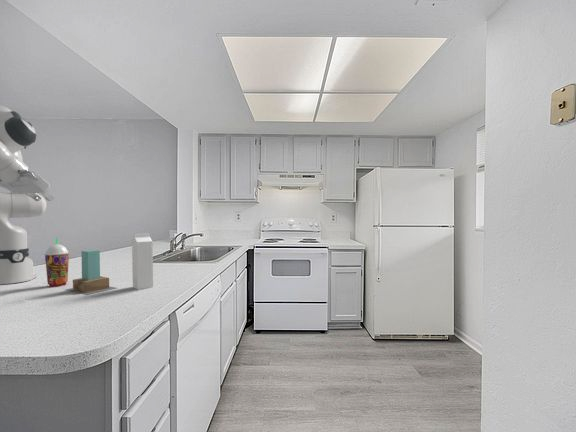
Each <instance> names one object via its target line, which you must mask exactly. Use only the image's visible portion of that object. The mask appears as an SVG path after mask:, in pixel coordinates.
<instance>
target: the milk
mask: <svg viewBox="0 0 576 432" xmlns="http://www.w3.org/2000/svg"><path fill="white" fill-rule="evenodd" d="M133 235H134V237H133V239H132V240H131V252H132V253H131V260H132V263H131V265H132V267H131V268H132V288H134V289H136V290H143V289H150V288H154V266H153V265H154V264H153V263H154V260H153V259H154V257H153V255H154V254H153V250H154V249H153V244H154V243H153V242H154V241H153V240H152V238H151V234H150V232H140V233H139V232H138V233H137V232H136V233H134V234H133Z"/></svg>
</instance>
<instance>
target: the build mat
mask: <svg viewBox="0 0 576 432" xmlns="http://www.w3.org/2000/svg"><path fill="white" fill-rule="evenodd" d="M116 289H118V287H116V286H115V287H114V286H111V285H109V288H106V289H102V290H97V291H92V292H88V293H84V292H80V291H75V290H73V287H70V288H67V289H64V291H67V292H71V293H76V294H77V293H78V294H81V295H86V296H88V295H93V294H94V295H95V294H99V293H102V292H106V291H107V292H108V291H112V290H116Z"/></svg>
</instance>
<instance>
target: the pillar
mask: <svg viewBox="0 0 576 432" xmlns="http://www.w3.org/2000/svg"><path fill="white" fill-rule="evenodd" d="M100 252H101V251H100V250H98V249H88V250H81V278H82V279H84V280H93V279H99V278H100V276H101V259H100V258H101V253H100Z"/></svg>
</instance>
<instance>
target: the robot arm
mask: <svg viewBox="0 0 576 432" xmlns="http://www.w3.org/2000/svg"><path fill="white" fill-rule="evenodd" d="M36 139H37V133H36V129H35V128H34V126H33V124H32V123H31V122H29V121H26V120H25V119H24V118H23V116H22V115H21V114H19V113H18V112H16V111H15V110H14V111H13V110H11V109H10V108H8V107H7V106H4V105H1V104H0V187H1V188H4V189H6V190H7V191H9V192H0V285H8V284H15V283H16V284H18V283H22V282H28V281H32V280H33V279H36V278H38V275H37V274H35V272H34V271H35V270H34V262H33V260H32V259H31V258H30V257H29V256H30V250H29V249H30V248H29V247H28V233H27V230H26V229H25V228H23V227H21V226H19V225H16V224H13V223H11V222H10V221H9V219H12V218H14V219H15V218H33V217H40V216H42V215H43V214H45V212H46V210H47V205H48V204H47V201H48V202H52V201H53V200H54V199H55V197H54V196H53V195H52V193H51V192H50V191H49V189H51V187H52V186H51V185H50V183H49V182H48V181H47V180H46V179H44V177H42V176H41V175H40V174H38V173H36V172H35V171H32V170H30V171H29V168H30V167H29V166H28V165H27V164H26V163H25V162H24V158H23V154H22V151H21V150H22V149H27V147H29V146H30V145H32V144H34V143H36ZM46 200H47V201H46Z"/></svg>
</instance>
